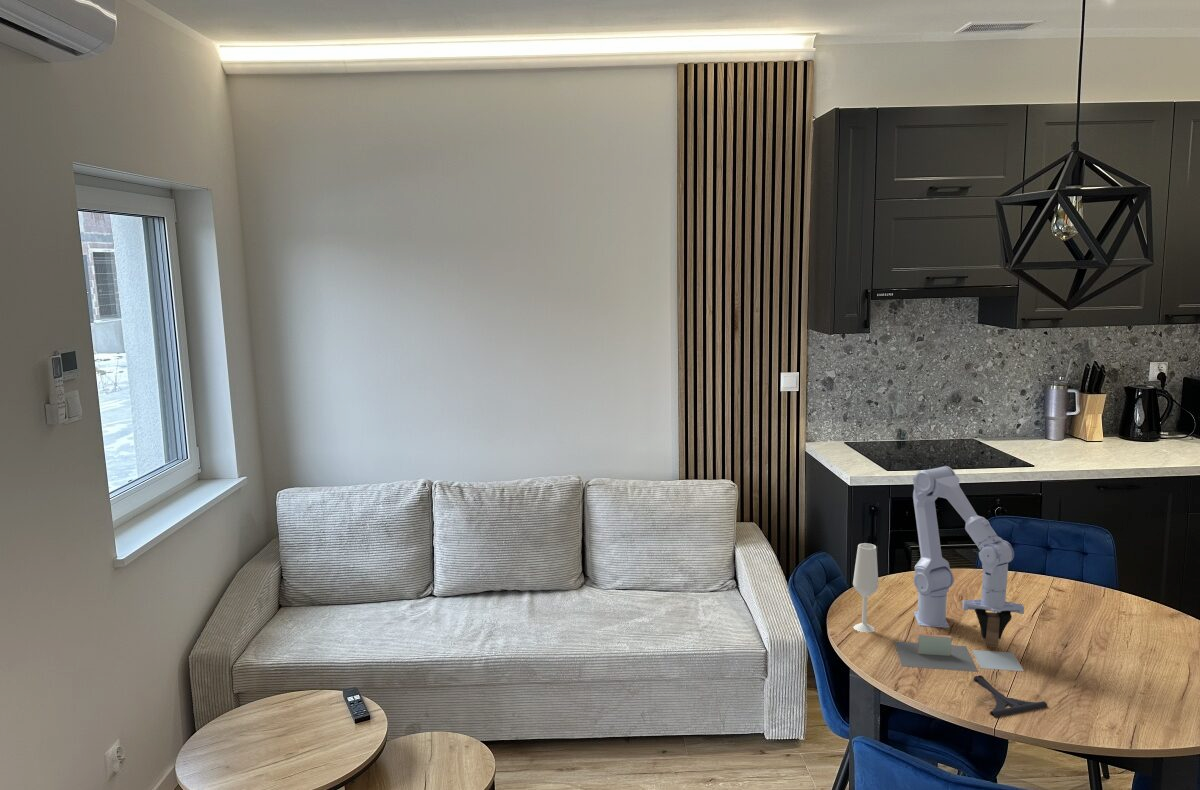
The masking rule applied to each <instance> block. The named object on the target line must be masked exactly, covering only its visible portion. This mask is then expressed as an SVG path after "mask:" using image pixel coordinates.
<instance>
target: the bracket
mask: <svg viewBox="0 0 1200 790" xmlns="http://www.w3.org/2000/svg"><path fill="white" fill-rule="evenodd" d="M973 681H974V682H978V685H980V686H981V687H983V688H984V689H986V690H987V691H988V692H990V693H991V695H992V697H993V699H994V701H995V707H994V708H992V710H990V712H989V715H990V716H993V718H1000V717H1004V716H1005V717H1006V716H1011V715H1016V714H1019V713H1020V714H1021V713H1025V712H1030V711H1031V712H1032V711H1035V709H1036V710H1040V708H1041V709H1045V708H1048V703H1047V702H1046V701H1045V700H1043V701H1038V702H1035V701H1034V702H1033V701H1027V700H1023V699H1022V700H1021V699H1017V698H1013V697H1006V696H1005V694H1003V693H1001V692H999V690H997V689H996V688H995V687H993V686H992V685H991V684H990V683H989V682H988V681H987V679H986V678H985V677H984V676H983V675H976V676H974V677H973ZM1006 706H1008V707H1006ZM992 714H993V715H992Z"/></svg>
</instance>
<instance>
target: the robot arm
mask: <svg viewBox="0 0 1200 790" xmlns="http://www.w3.org/2000/svg"><path fill="white" fill-rule="evenodd" d="M912 482H913V492H912V499H913V507H914V514H915V521H916V522H915V523H916V530H917V537H918V538H917V539H918V545H919V552H920V558H919V560H918V561H917V563H916V564H915V566H914V576H913V584H914V586H915V589H916V590H917V596H918V597H917V608H916V609H917V610H914V611H913V615H914V617H915V619H916V622H917V625H918V626H919V627H931V628H945V629H948V628H950V624H949V623H948V621H947V617H946V615H947V602H948V601H947V599H948V598H947V597H948V594H947V593H949V591H950V588H951V587H952V586H953V585H954V583H955V577H954V574H953V572H952V570H951V567H950V562H949V561H948V560H947V559H945V558H944V557H943V556H942V554H943V553H942V549H941V548H942V547H941V540H940V539H941V538H940V532H939V523H938V517H937V509H936V503H935V501H936V500H937V499H938V498H943V499H946V500H947V501H948V502H949V504H950V505H951V506H952V507H953V509H955V511H956V512H957V513H958V515H960V517H961V518H962V520H964V522H965V526H964V529H965V532H966V533H967V534H968V535H969V537H970V538H971V540H972V541H973V542H974V544H975V546H977V548H978V550H979V552H978V558H979V560H980V562H981V568H982V581H981V597H980V598H981V599H980V598H979V599H970V600H969V599H967V600H965V599H964V600H963V599H962V604H961V605H962V606H961V607H962V609H963V611H969V610H971V611H972V610H973V611H974V612H975V615H976V616H977V617H976V618H977V620H978V623H979V628H980V635H981V637H982V639H983V638H986V626H987V620H988V616H987V612H991V613H997V614H998V615H999V617H1000V626H999V640H1001V639H1002V635H1003V633H1004V631H1005V628H1006V627H1007V625H1008V624H1009V622H1010V621H1011V620H1012V613H1018V614H1020V615H1024V614H1025V606H1024V605H1023V603H1016V602H1011V601H1007V600H1006V599H1007V588H1008V586H1007V585H1008V571H1009V563H1010V562H1012V561H1013V559H1014V557H1015V552H1014V551H1015V550H1014V549H1013V547H1012V544H1011V543H1009V541H1007V540H1004V539H1003V538H1002V537H1000V536H998V534H997V533H996V532H995V530H994V529H993V527H992V526H991V524H990V522H989V520H988V519H986V518H985V517H984V516H980V515H978V514H977V512H976V511H975V509H974V507H973V506H972V504H971V503H970V501H969V499H968V498H967V496H966V495H965V493H964V491H963V490H962V488H961V487H960V478H959V476H958V475H956V472H955V471H954V469H952V467H950V466H947V465H943V466H940V467H936V468H929V469H923V470H922V469H921V470H919V471H918V472H916V474H915V475H914V476H913V477H912Z"/></svg>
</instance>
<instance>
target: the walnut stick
mask: <svg viewBox="0 0 1200 790" xmlns="http://www.w3.org/2000/svg"><path fill="white" fill-rule="evenodd" d="M986 612H987V616H988V620H987V626H986V638H983V637H982V642H983V644H984V645H985V647H998V648H999V640H1000V639H999V626H1000V617H999V615H998V614H997V612H992V611H986Z"/></svg>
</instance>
